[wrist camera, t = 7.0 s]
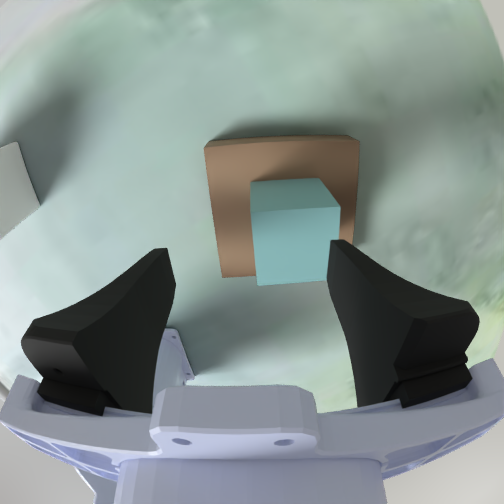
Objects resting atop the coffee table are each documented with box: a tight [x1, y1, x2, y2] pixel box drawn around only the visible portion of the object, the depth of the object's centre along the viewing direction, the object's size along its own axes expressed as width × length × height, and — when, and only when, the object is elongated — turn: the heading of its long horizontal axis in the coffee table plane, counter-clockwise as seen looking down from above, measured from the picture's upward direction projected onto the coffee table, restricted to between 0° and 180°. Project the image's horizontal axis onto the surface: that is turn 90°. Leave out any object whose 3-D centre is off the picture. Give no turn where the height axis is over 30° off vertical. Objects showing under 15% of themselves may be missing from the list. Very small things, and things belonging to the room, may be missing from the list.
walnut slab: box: [204, 135, 359, 278], centre depth 21 cm, size 10×10×3 cm
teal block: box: [250, 178, 341, 286], centre depth 17 cm, size 4×4×5 cm
